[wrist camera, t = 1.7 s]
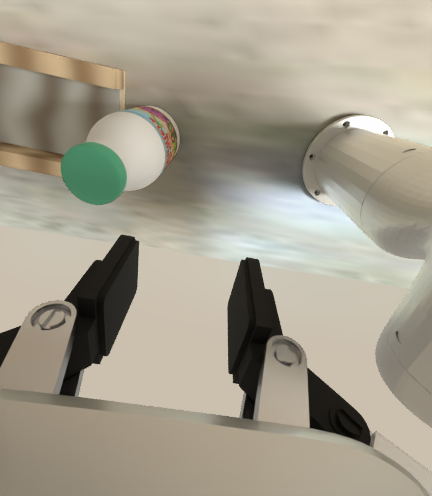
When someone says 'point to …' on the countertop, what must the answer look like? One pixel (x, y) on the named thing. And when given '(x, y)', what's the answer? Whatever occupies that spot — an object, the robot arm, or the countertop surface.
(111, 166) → the milk bottle
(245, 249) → the countertop surface
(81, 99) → the cradle
